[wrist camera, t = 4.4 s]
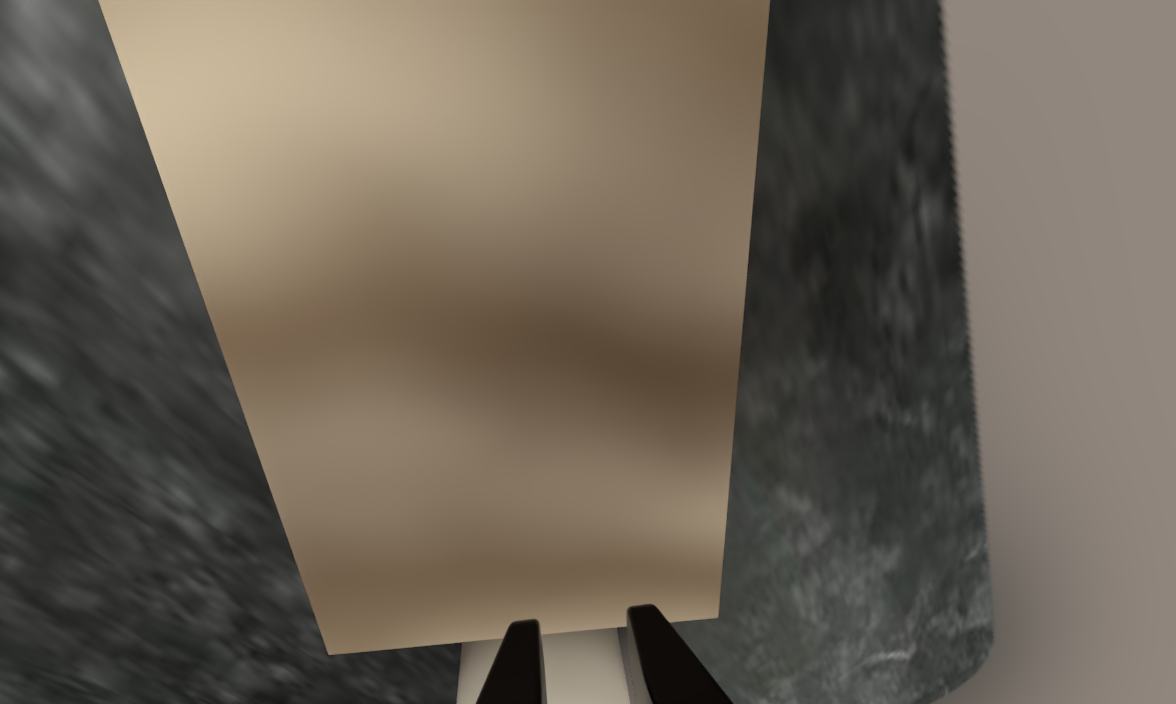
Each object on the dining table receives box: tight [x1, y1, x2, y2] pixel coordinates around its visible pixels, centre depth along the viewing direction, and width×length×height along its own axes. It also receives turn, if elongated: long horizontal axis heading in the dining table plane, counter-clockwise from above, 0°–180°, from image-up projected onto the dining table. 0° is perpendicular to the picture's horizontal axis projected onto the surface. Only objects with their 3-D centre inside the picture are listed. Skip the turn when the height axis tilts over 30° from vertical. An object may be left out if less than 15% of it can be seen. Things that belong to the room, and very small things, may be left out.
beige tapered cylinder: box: [457, 627, 630, 704], centre depth 22 cm, size 6×6×5 cm
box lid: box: [99, 0, 770, 655], centre depth 12 cm, size 16×10×1 cm, turn 2°
